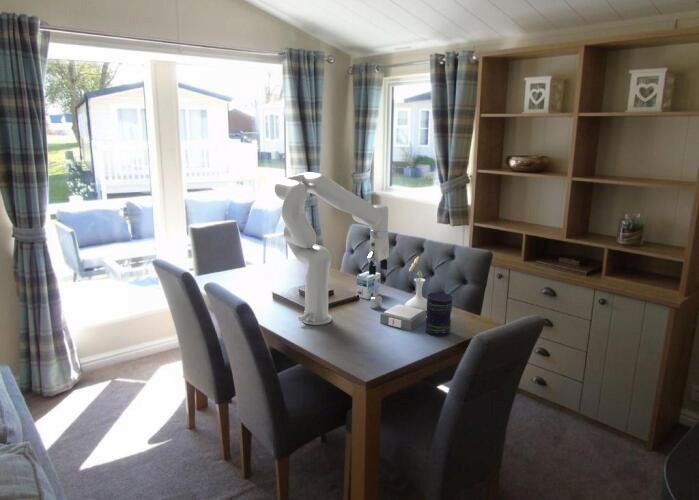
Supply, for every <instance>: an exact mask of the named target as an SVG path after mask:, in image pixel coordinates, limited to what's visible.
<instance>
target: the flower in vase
mask: <svg viewBox="0 0 699 500" xmlns="http://www.w3.org/2000/svg"><path fill="white" fill-rule="evenodd" d="M419 260H420V256H417V257H416V258H414V260H413V263H411V266H410V267H409V268H408V272H412V271H413V270H414V268H415V267H416V269H417V272H416V275H417V277H416V278H414V279H413V280H414V282H415V285H416V292H415V293H416V294H415V296H413V297H412V298H410V299H408V301H406V303H405V305H404V306H408V307H412V308H416V309H421V310H423V311H425V312H427V299H425V298H424V297H423V294H422V293H423V292H422V291H423V290H422V289H423V286H424V285H423V284H424V283H425V282H426V279H425V278H422V277H423V272H422V271H421V270H420V269H419V267H418V262H419Z"/></svg>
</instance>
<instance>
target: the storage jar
mask: <svg viewBox="0 0 699 500" xmlns="http://www.w3.org/2000/svg"><path fill="white" fill-rule="evenodd" d="M426 300H427V311H426V321H425V322H424V323H425V330H424V331H425V334H427V335H428V336H431V337H434V338H435V337H436V338H444V337H448V336H449V335H450V333H451V326H452V325H451V324H452V320H451V316H452V314H451V313H452V310H453V296H452V295H451V294H449V293H444V292H430V293H428V294H427V299H426Z"/></svg>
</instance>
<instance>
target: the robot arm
mask: <svg viewBox="0 0 699 500" xmlns="http://www.w3.org/2000/svg"><path fill="white" fill-rule="evenodd" d="M274 193H275V196H277V198H279V199H281V200H283V203H282V207H281V217H282V220H283V223H284V224H285V226H284V229H283V236H284V240H285V242H286V244H287V245H288V247H289V248H290V251H291V252H292V253H293V254H294V257H295V258H296V259H297V260H298V262H299V263H301V264H303V265H305V266H307V270H306V273H305V277H304V278H305V279H304V282H305V283H304V285H305V286H304V311H303V314H302V315H300V316H298V321H299V322H301V323H304V324H306V325H311V326H322V325H323V326H324V325H326V324H329V323H330V322H332V320H333V317H332V316H331V315H330V314H329V285H330V284H329V282H330V281H329V278H330V277H329V275H330V268H331V263H332V255H331V253H330V251H329V249H327V248H326V247H325V246H323V245H320V244H317V233H316V231H315V229H314V228H313V226H312V224H311V222H310V220H309V219H308V217H307V215H306V213H305V211H304V205H305V202H306V200H307V196H308V194H312V195H315V196H317V197H318V198H320V199H321V200H323V201H325V202H326V203H328V204H329V205H331V206H332V207H333V208H335V209H337V210H339V211H342V212H345V213H348V214H349V215H351V217H352V219H353V220H354V221H355V222H356V223H359V224H362V225H366V226H369V228H370V232H369V235H370V238H369V239H370V240H369V246H368V247H369V251H368V252H369V253H368V256H367V257H366V260H367V264H368V271H369V274H372V275H376V272H377V266H376V264H377V262H380V264H379V265H380V270H385V271H386V270H388V261H389V256H390V245H389V243H390V242H389V236H388V235H389V232H388V231H389V207H388V206H387V205H385V204H371V203H370V202H369V201H367V200H365V199H363V198H361V197H360V196H358V195H356V194H355V193H353V192H351V191H349V190H347V189H346V188H345V187H343V186H342V185H340V184H338V183H337V182H336V181H334V180H333V179H331V178H330V177H329V176H327V175H325V174H323V173H319V172H313V171H307V172H303V173H299V174H295V175H291V176H287V177H286V176H285V177H283V178H281V179H279V180H278V181H277V182H276V184H275V185H274Z"/></svg>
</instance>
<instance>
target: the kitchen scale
mask: <svg viewBox="0 0 699 500" xmlns="http://www.w3.org/2000/svg"><path fill="white" fill-rule="evenodd" d="M379 317H380V318H379V319H380V321H379V322H380V324H382V325H384V326H385V325H387V326H390V327H394V328H397V329H402V330H404V331H405V330H406V331H409V332H411V331H413V330H414V329H416V328H417V327H419V326H420V325H421V324H424V323H426V318H427V311H423V310H421V309H416V308H412V307H408V306H405V305H402V304H396V305H394V306H392V307H391V308H389V309H387V310H385V311H383V312H381V313H380V316H379Z"/></svg>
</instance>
